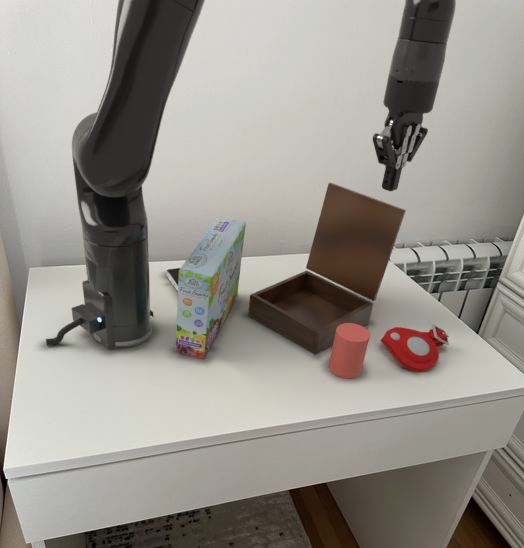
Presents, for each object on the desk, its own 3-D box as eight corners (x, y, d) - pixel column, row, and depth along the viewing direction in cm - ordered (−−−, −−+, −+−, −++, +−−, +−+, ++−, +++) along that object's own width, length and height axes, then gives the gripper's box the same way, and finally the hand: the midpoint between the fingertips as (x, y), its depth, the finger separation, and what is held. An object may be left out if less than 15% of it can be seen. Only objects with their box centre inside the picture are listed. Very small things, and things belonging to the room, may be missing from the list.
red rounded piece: (433, 375, 84) (378, 342, 86) (421, 390, 88) (369, 357, 90) (459, 329, 91) (407, 299, 93) (447, 344, 94) (398, 315, 97)
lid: (403, 210, 87) (418, 209, 91) (328, 182, 95) (345, 182, 99) (373, 301, 94) (387, 296, 98) (305, 268, 102) (321, 265, 106)
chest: (315, 355, 88) (319, 333, 85) (248, 315, 96) (250, 294, 93) (368, 323, 97) (373, 303, 95) (303, 289, 106) (306, 270, 103)
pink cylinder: (322, 367, 85) (329, 330, 81) (341, 354, 88) (349, 319, 84) (348, 382, 82) (357, 345, 78) (367, 369, 86) (376, 333, 82)
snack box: (208, 361, 84) (213, 277, 75) (173, 353, 84) (174, 269, 75) (240, 295, 100) (247, 219, 91) (211, 289, 101) (215, 213, 92)
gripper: (415, 68, 85) (391, 176, 95) (368, 72, 77) (347, 190, 87) (458, 76, 81) (428, 188, 91) (413, 82, 73) (385, 204, 83)
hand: (389, 189), depth 89 cm, fingers closed
